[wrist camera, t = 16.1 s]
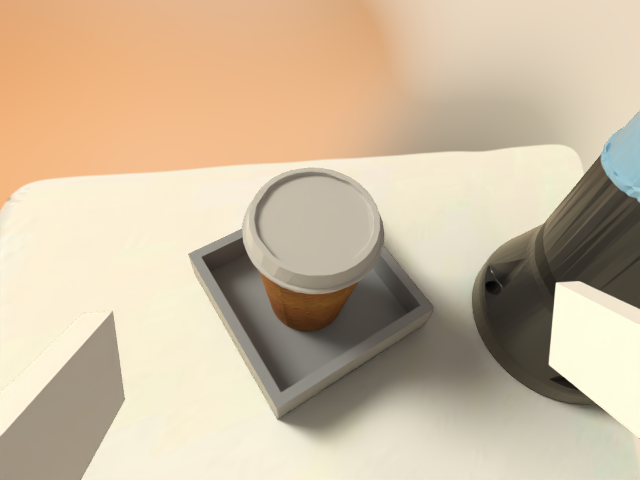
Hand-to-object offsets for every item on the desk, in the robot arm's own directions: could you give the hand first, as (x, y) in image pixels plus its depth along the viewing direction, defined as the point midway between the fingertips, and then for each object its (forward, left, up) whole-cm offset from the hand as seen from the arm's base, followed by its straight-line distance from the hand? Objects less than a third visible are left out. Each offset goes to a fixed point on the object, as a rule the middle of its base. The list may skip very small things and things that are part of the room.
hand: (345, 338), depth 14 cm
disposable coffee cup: (-7, -11, -24) cm, 27 cm away
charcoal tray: (-7, -11, -24) cm, 27 cm away
